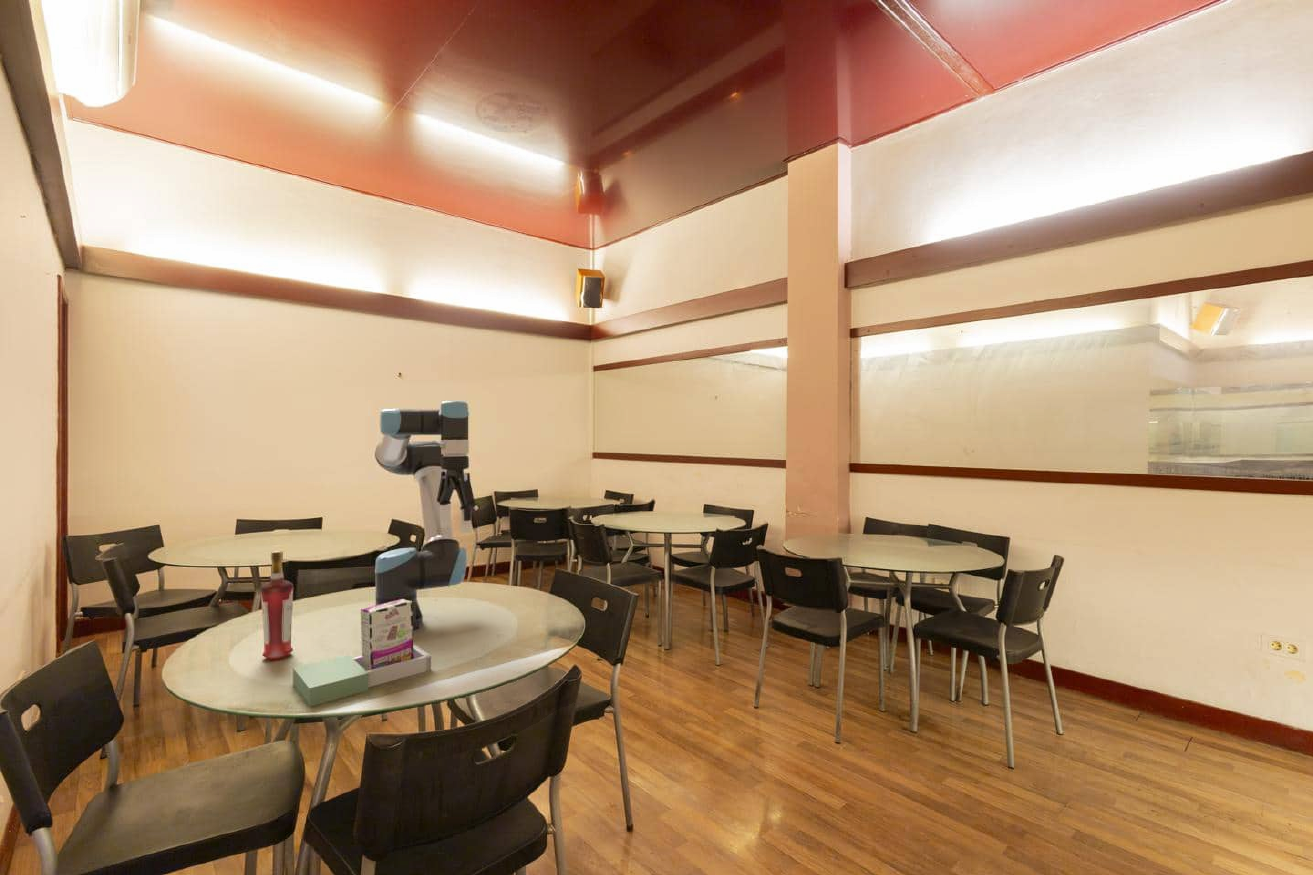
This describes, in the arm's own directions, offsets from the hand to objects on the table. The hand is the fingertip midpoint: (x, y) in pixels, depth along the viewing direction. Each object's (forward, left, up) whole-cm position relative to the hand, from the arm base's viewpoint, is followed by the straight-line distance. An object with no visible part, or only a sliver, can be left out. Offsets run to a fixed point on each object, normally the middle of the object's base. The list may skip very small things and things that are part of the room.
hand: (455, 529), depth 169 cm
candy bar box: (+10, -22, -32) cm, 40 cm away
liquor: (-21, -40, -32) cm, 55 cm away
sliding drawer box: (+10, -27, -32) cm, 43 cm away
